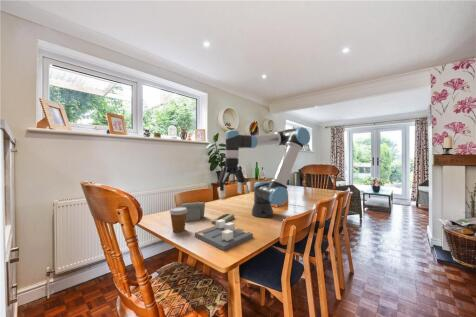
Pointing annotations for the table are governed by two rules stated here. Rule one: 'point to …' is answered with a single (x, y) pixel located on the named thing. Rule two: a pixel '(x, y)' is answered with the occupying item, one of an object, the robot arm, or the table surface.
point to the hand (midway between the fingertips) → (231, 194)
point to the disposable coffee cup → (178, 218)
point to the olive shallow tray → (224, 218)
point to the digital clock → (194, 210)
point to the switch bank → (215, 237)
